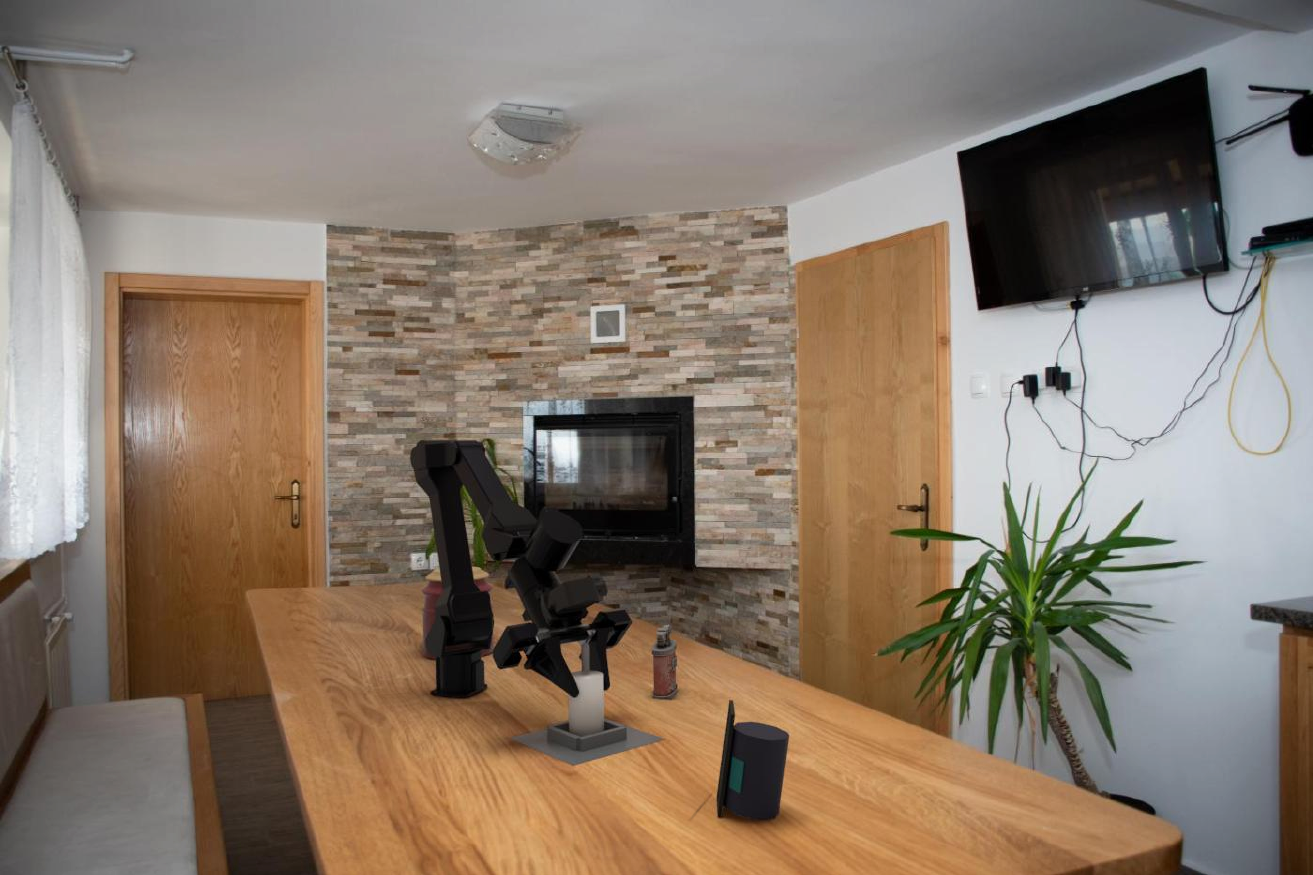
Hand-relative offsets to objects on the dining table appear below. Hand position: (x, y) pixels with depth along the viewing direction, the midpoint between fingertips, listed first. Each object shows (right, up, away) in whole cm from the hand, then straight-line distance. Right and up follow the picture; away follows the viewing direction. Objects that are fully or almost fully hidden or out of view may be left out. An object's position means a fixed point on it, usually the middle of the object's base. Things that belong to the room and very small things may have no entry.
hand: (592, 692), depth 116 cm
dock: (-1, -7, +1) cm, 7 cm away
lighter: (+9, -7, +23) cm, 26 cm away
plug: (-1, -6, +1) cm, 6 cm away
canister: (-28, -8, +54) cm, 62 cm away
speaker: (+18, -6, -22) cm, 29 cm away
